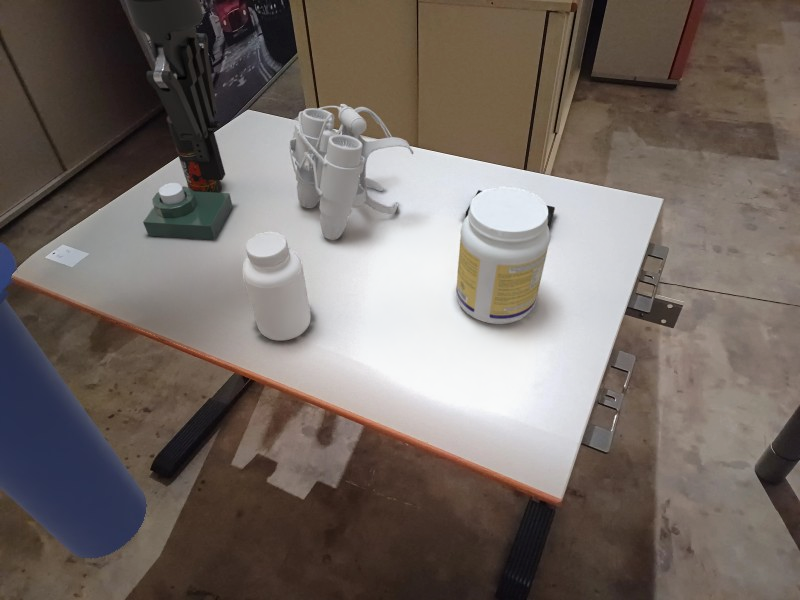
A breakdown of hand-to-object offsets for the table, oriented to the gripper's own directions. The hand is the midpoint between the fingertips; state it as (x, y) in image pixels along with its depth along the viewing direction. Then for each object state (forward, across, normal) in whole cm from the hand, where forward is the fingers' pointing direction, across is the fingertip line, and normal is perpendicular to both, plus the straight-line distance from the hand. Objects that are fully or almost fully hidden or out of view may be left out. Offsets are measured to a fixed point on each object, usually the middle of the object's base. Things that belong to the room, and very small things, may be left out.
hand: (214, 176), depth 75 cm
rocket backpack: (+19, +21, -15) cm, 32 cm away
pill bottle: (+19, -9, -9) cm, 23 cm away
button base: (+19, +14, +14) cm, 27 cm away
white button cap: (+14, +15, +16) cm, 26 cm away
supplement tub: (+19, -1, -40) cm, 44 cm away
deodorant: (+19, +24, +15) cm, 34 cm away
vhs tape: (+19, +20, -43) cm, 51 cm away
